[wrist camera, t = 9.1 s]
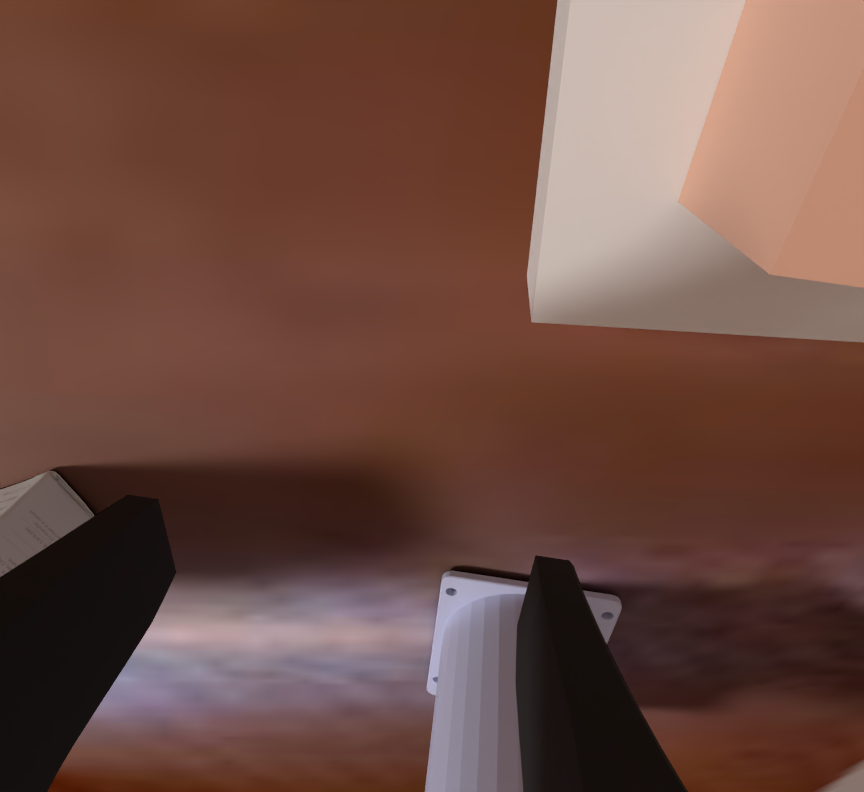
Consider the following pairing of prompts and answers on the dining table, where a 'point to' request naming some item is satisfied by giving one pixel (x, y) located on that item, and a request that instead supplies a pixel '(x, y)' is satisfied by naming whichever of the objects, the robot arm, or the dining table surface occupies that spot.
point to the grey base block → (650, 185)
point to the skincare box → (36, 517)
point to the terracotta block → (788, 141)
